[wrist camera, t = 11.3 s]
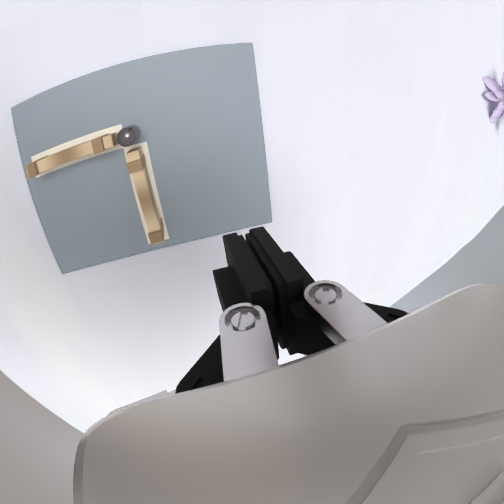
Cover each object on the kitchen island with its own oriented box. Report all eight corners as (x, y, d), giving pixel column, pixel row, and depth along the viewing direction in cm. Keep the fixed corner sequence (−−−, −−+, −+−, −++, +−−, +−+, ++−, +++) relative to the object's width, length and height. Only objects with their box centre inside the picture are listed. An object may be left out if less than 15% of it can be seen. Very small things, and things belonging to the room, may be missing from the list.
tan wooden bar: (129, 149, 27) (124, 155, 23) (142, 145, 27) (138, 150, 24) (153, 232, 32) (152, 248, 29) (164, 229, 32) (165, 244, 29)
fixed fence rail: (116, 131, 26) (109, 134, 22) (119, 143, 26) (112, 148, 23) (37, 159, 24) (22, 167, 20) (40, 171, 24) (25, 180, 21)
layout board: (63, 271, 32) (62, 274, 31) (13, 107, 20) (10, 108, 20) (270, 220, 37) (272, 222, 36) (250, 43, 25) (252, 42, 25)
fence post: (127, 142, 27) (119, 149, 23) (123, 126, 26) (115, 130, 22) (142, 138, 28) (137, 144, 23) (139, 122, 27) (134, 125, 22)
